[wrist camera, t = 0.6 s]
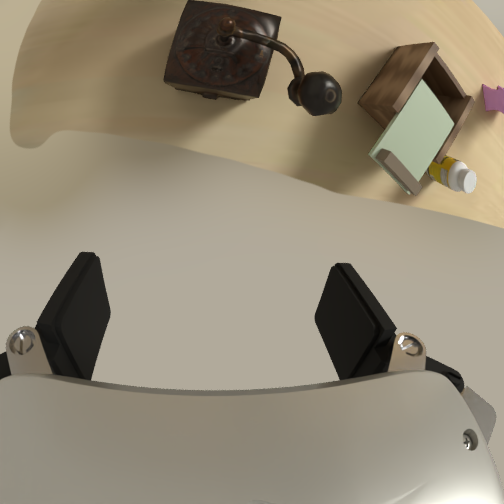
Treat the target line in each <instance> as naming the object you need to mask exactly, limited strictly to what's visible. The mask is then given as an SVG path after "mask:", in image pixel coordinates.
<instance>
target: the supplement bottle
mask: <svg viewBox="0 0 504 504" xmlns="http://www.w3.org/2000/svg"><path fill="white" fill-rule="evenodd" d="M426 172H427V175H428V176H429V177H430V178H431V179H433V180H435V181H437V182H439V183H441V184H442V185H444V186H446V187H448V188H450V189H452V190H454V191H457V192H458V191H461V190H462V191H464V192H465V193H471V192H472V191H473V190H474V188H475V186H476V181H477V178H476V174H475V172H474V171H472V170H470V169H468V168H467V166H466V165H465V164H464V163H463V162H461V161H459V160H456V159H454V158H451V157H449V156H446V155H445V156H444V158H443V160H442V161H441V163H440V164H437V163H435V162H433V161H432V162H431V163H430V165H429V167H428V168H427V170H426Z"/></svg>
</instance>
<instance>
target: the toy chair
mask: <svg viewBox="0 0 504 504" xmlns="http://www.w3.org/2000/svg"><path fill="white" fill-rule="evenodd" d="M482 86H483V92H484V100H485V109H486V111H490V110H498V111H500V112H502V113H503V114H504V88H502V87H500V86H498V90H494V89H491V88H489V87H487V86H486V85H484V84H482Z"/></svg>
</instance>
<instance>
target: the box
mask: <svg viewBox="0 0 504 504" xmlns="http://www.w3.org/2000/svg"><path fill="white" fill-rule="evenodd" d="M438 50H439V47H438V46H437V45H436V44H435V42H430V43H420V44H412V45H405V46H398V47H397V48H396V50H395V51H394V53H393V54H392V55H391V57H390V58H389V60H388V61H387V62H386V64H385V65H384V67H383V68H382V69H381V71H380V72H379V74H378V75H377V76H376V78H375V79H374V81H373V82H372V83H371V85H370V86H369V88H368V89H367V91H366V92H365V93H364V95H363V96H362V98H361V99H360V100H359V102H358V104H359V105H360V106H361V107H363V108H364V109H365V110H366V111H367V112H368V113H369V114H370V115H371V116H372V117H373V118H374V119H375V120H376V121H377V122H378V123H379V124H380V125H381V126H382V127H383V128H384V129H386V128H387V126H388V125H389V123H390V122H391V120H392V119H393V117H394V116H395V114H396V113H399V111H400V110H401V108H402V107H403V105H404V104H405V102H406V100H407V99H408V97H409V96H410V94H411V93H412V91H413V90H414V88H415V87H416V85H417V84H418V82H419V80H420V79H422V80H423V81H424V82H425V83H426V85H427V86H428V87H429V88H430V90H431V91H432V92H433V94H434V95H435V96H436V98H437V99H438V100H439V102H440V103H441V105H442V106H443V108H444V109H445V110H446V112H447V113H448V115H449V116H450V118H451V119H452V121H453V123H454V126H453V127H452V129H451V131H450V133H449V134H448V136H447V138H446V139H445V141H444V143H443V144H442V146H441V148H440V149H439V151H438V152H437V154H436V156H435V157H434V159H433V160H432V161H433V162H435V163H437V164H440V163H441V161H442V160H443V158H444V156H445V155H446V153H447V151H448V150H449V148H450V146H451V145H452V143H453V141H454V140H455V138H456V136H457V134H458V133H459V131H460V129H461V127H462V125H463V124H464V122H465V120H466V118H467V116H468V114H469V112H470V110H471V108H472V106H473V104H474V102H475V101H474V99H473V98H472V96H467V95H466V94H465V92H464V91H463V89H462V87H461V86H460V84H459V83H458V81H457V80H456V78H455V77H454V75H453V74H452V72H451V71H450V70H449V68H448V67H447V65H446V64H445V63H444V61H443V60H442V59H441V57H440V56H439V55H438V53H437V51H438Z"/></svg>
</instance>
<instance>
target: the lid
mask: <svg viewBox="0 0 504 504" xmlns="http://www.w3.org/2000/svg"><path fill="white" fill-rule="evenodd" d="M453 126H454V123H453V121H452V119H451V118H450V116H449V115H448V113H447V112H446V110H445V109H444V108H443V106H442V105H441V103H440V102H439V100H438V99H437V98H436V96H435V95H434V94H433V92H432V91H431V90H430V88H429V87H428V86H427V85H426V83H425V82H424V81H423V80H422V79H420V80H419V82H418V84H417V85H416V87H415V88H414V90H413V91H412V93H411V94H410V96H409V97H408V99H407V100H406V102H405V104H404V105H403V107H402V108H401V110H400V111H399V113H396V114H395V116H394V117H393V119H392V120H391V122H390V123H389V125H388V126H387V128H386V129H385V130H384V132H383V133H382V135H381V136H380V138H379V139H378V141H377V142H376V144H375V145H374V146H373V148H372V149H371V151H370V152H369V154H368V155H369V156H370V157H371V158H372V159H373V160H374V161H376V162H377V163H378V164H379V165H380V166H381V167H382V168H383V169H384V170H385V171H386V172H387V173H388V174H389V175H390V176H391V177H392V178H393V179H394V180H395V181H396V182H397V183H398V185H399V186H400V187H401V188H402V189H403V190H404V191H405V192H406V193H407V194H409V195H410V193H412V194H414V195H415V196H417V194H418V193H419V191H420V190H421V189H422V186H421V185H420V183H419V180H420V179H421V177H422V176H423V174H424V173H425V171H426V170H427V168H428V167H429V165H430V163H431V162H432V160H433V159H434V157H435V156H436V154H437V152H438V151H439V149H440V148H441V146H442V144H443V143H444V141H445V139H446V138H447V136H448V134H449V133H450V131H451V129H452V127H453Z"/></svg>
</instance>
